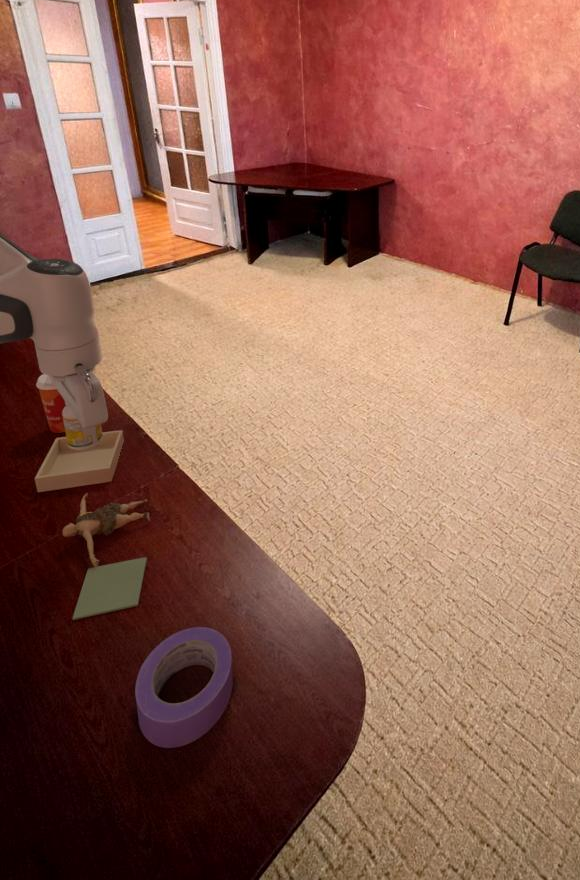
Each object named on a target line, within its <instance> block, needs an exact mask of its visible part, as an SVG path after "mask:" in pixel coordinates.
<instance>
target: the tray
mask: <svg viewBox="0 0 580 880" xmlns="http://www.w3.org/2000/svg"><path fill="white" fill-rule="evenodd" d="M102 435H103V436H102V439H101V441H100V442H99V443H98V444H96V445H95V446H93V447H91V448H88V449H85V450H73V449H71V448H69V447H68V444H67V438H66V436H62V437H56V438H55V439H54V441H53V443H52V445H51V447H50V449H49V451H48V452H47V454H46V456H45V458H44V460H43V462H42V463H41V465H40V467H39V469H38V471H37V473H36V474H35V477H34V483H35V487H36V492H37V493H43V492H49V491H51V492H52V491H56V490H64V489H70V488H76V487H77V488H78V487H83V486H90V485H96V484H103V483H111V482H112V481H113V479H114V475H115V472H116V468H117V466H118V463H119V460H120V457H119V456H121V454H120V452H121V453H122V451H121V449H122V450H123V448H122V445H123V442H124V443H125V439H124V431H123V429H121V430H111V431H104V432H103V431H102ZM123 446H124V445H123ZM118 459H119V460H118Z"/></svg>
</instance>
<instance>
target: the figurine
mask: <svg viewBox="0 0 580 880" xmlns="http://www.w3.org/2000/svg"><path fill="white" fill-rule="evenodd" d="M88 494H89V492H86V493H85V494H84V495H83V497H82V498H81V500H80V503H79V507H80V510H79V515H78V516H76V518H75V524H74V523H72V522H69V523H68V524H67V525H65V526H64V527H63V528H62V532H61V533H62V537H65V538H71V537H75V536H77V535H79V536H81V537H83V538H84V539H85V540H86V545H87V551H88V555H89V559H90V562H91V564H92V566H93V567H98V566H99V562H100V560H99V559H97V558H96V557H95V556H96V554H94V541H93V536H94V535H96V536H101V535H104V536H109V535H112V534H113V532H114V530H117V529H119V528H122V527H124V526H126V525H127V524H129V523H130V522H134V521H137V520H139V519H142V520H146V519H147V521H148V522H150V521H151V517H150V513H149V511H148V512H143V513H139V512H132V513H130V514H127V512H128V511H129V510H134V509H135V508H136V507H137V506H140V505H142V506H144V505H147V503H148V499H146V498H144V499H142V500H138V501H131V502H129V503H123V504H120V503H119V502H111V503H108V504H106V505H104V506H103V507H99V508H98V507H97V508H96V509H94V511H87V503H88V501H87V500H86V499H87V497H88Z"/></svg>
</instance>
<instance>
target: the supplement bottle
mask: <svg viewBox="0 0 580 880" xmlns="http://www.w3.org/2000/svg"><path fill="white" fill-rule="evenodd" d="M90 402H91V401H90ZM65 405H66V406H65V407H64V409H63V411H62V416H63V422H64V427H65V433H64V434H65V437H66V438H67V444H68V447H69V448H71V449H73V450H85V449H88V448H91V447H93V446H95V445H96V444H98V443H99V442H100V441H101V439H102V436H103V435H102V432H103V427H102V424H100V425H97V426H95V430H96V431H95V433H94V434H92V435H89V436H84V435H83V433H82V432H81V427H80V425H81V424H80V423H79V421H78V420H77V418H76V417H75V415H74V414H73V412H72V411H71V409H70V408H69V406H68V405H67V403H66V399H65Z"/></svg>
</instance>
